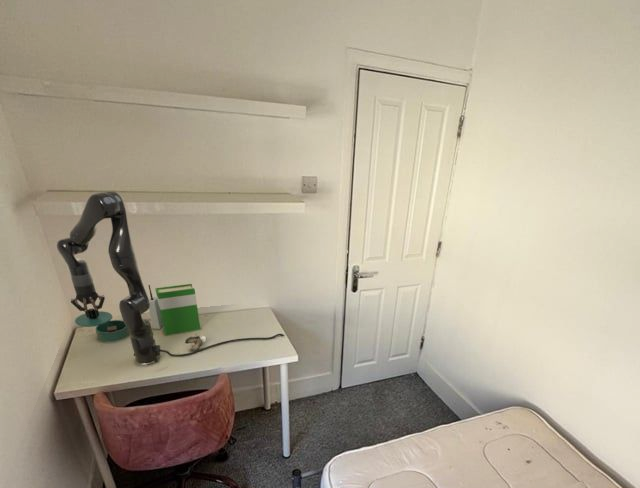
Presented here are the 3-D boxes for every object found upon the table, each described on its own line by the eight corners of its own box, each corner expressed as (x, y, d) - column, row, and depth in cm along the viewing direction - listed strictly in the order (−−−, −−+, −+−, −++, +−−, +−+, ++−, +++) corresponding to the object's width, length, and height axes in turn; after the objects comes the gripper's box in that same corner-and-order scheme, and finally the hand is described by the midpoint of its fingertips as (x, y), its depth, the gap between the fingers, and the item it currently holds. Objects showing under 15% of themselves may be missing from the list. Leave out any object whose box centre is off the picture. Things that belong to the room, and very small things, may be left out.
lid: (114, 312, 191) (111, 301, 188) (110, 326, 179) (107, 315, 177) (79, 314, 186) (75, 304, 183) (72, 329, 174) (68, 317, 171)
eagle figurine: (191, 339, 202) (181, 344, 194) (198, 329, 200) (188, 334, 192) (203, 348, 203) (193, 354, 195) (210, 339, 201) (200, 344, 192)
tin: (131, 328, 210) (129, 319, 207) (128, 340, 198) (125, 331, 196) (101, 330, 205) (98, 321, 202) (96, 343, 194) (93, 334, 191)
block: (118, 332, 204) (116, 325, 202) (118, 335, 201) (116, 329, 199) (109, 333, 202) (107, 327, 200) (109, 337, 199) (107, 330, 197)
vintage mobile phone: (163, 325, 215) (155, 282, 202) (160, 329, 211) (151, 286, 198) (157, 324, 215) (147, 282, 202) (153, 329, 211) (143, 286, 198)
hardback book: (197, 323, 220) (191, 283, 207) (200, 329, 215) (194, 288, 202) (163, 329, 211) (155, 288, 199) (166, 335, 206) (157, 293, 194)
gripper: (63, 287, 167) (75, 323, 176) (101, 283, 174) (111, 318, 183) (64, 281, 172) (75, 316, 181) (100, 277, 179) (110, 311, 188)
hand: (93, 317), depth 182 cm, fingers closed on lid, 2 cm apart
